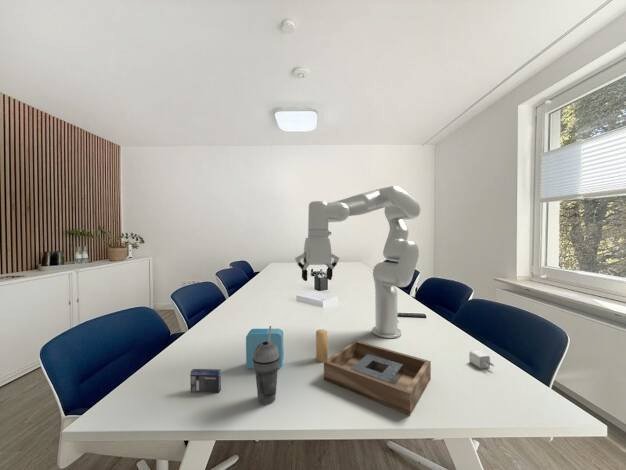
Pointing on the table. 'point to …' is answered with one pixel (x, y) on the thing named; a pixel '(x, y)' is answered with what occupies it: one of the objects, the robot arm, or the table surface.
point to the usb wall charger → (480, 359)
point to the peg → (321, 345)
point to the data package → (257, 338)
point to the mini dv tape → (205, 380)
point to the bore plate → (379, 368)
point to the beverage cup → (266, 370)
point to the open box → (393, 396)
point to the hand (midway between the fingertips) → (317, 279)
